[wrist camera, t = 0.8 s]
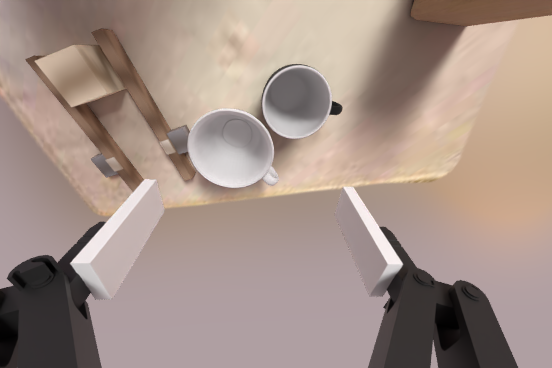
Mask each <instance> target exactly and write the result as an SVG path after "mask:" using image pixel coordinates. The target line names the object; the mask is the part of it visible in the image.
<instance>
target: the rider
mask: <svg viewBox="0 0 552 368" xmlns="http://www.w3.org/2000/svg"><path fill="white" fill-rule="evenodd" d="M35 63H36V64H37V65H38V66H39V68H40V69H41V70H42V71H43V73H44V74H45V75H46V76H47V77H48V79H49V80H50V81H51V82H52V84H53V85H54V86H55V87H56V89H57V90H58V91H59V92H60V94H61V95H62V96H63V97H64V99H65V100H66V101H67V102H68V104H69V105H70V106H71V107H74V106H78V105H81V104H85V103H88V102H92V101H95V100H98V99H100V98H103V97H106V96H108V95H111V94H114V93H116V92H119V91H122V90H124V89H126V87H125V85H124V84H123V82H122V81H121V79H120V77H119V76H118V74H117V73H116V71H115V69H114V68H113V66H112V65H111V63H110V62H109V60H108V58H107V57H106V55H105V54H104V52H103V51H102V49H101V47H100V46H94V45H72V46H69V47H67V48H65V49H62V50H60V51H57V52H55V53H52V54H50V55H48V56H45V57H43V58H40V59H38V60H35Z"/></svg>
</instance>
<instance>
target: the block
mask: <svg viewBox="0 0 552 368" xmlns="http://www.w3.org/2000/svg"><path fill="white" fill-rule="evenodd" d="M548 15H552V0H414V3H413V6H412V9H411V17H413V18H414V19H415V20H421V21H429V22H437V23H445V24H454V25H462V26H472V25H479V24H487V23H495V22H502V21H510V20H518V19H525V18H533V17H541V16H548Z"/></svg>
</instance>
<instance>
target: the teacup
mask: <svg viewBox="0 0 552 368" xmlns="http://www.w3.org/2000/svg"><path fill="white" fill-rule="evenodd" d="M187 146H188V153H189V156H190V159H191V161H192V163H193V165H194V167H195V168H196V170H197V171H198V172H199V173H200V174H201V175H202V176H203V177H204V178H206V179H207V180H209V181H210V182H212V183H214V184H217V185H219V186H223V187H228V188H242V187H246V186H250V185H252V184H254V183H256V182H258V181H259V180H260V179H263V181H264V182H266V183H267V184H268V185H271V186H273V185H275V184H276V183H277V182H278V180H279V177H278V174H277V172H276V171H275V170H274V168H273V167H272V166H271V165H272V162H273V158H274V146H273V142H272V138H271V136H270V134H269V132H268V130H267V129H266V127H265V126H264V125H263V124H262V123H261V122H260V121H259V120H258V119H257V118H255V117H254V116H253V115H251V114H250V113H248V112H246V111H243V110H239V109H227V108H224V109H217V110H213V111H211V112H208V113H206V114H205V115H203V116H202V117H201V118H199V119H198V120H197V121H196V123H195V124H194V125H193V127H192V129H191V131H190V133H189V137H188V143H187Z"/></svg>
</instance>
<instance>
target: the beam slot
mask: <svg viewBox="0 0 552 368" xmlns="http://www.w3.org/2000/svg"><path fill="white" fill-rule="evenodd" d="M91 33H92V35H93V36H94V38H95V39H96V41H97V43H98V44H99V46H100V47H101V49H102V50H103V52H104V54H105V55H106V57H107V58H108V60H109V62H110V63H111V65H112V66H113V68H114V69H115V71H116V73H117V74H118V76H119V77H120V79H121V81H122V82H123V84H124V85H125V87H126V89H127V90H128V92H129V93H130V95H131V96H132V98H133V100H134V101H135V103H136V104H137V106H138V108H139V109H140V111H141V112H142V114H143V115H144V117H145V119H146V120H147V122H148V123H149V125H150V127H151V128H152V130H153V131H154V133H155V134H156V136H157V138H158V139H159V141H160V142H159V143H160V145H161V146H162V148H163V149H164V151H165V153H166V154H167V155H169V157H170V158H171V160H172V161H173V163H174V165H175V166H176V168H177V169H178V171H179V173H180V174H181V176H182V177H183V179H184V180H185V181H186V180H190V179H192V178H193V176H194V174H195V173H196V172H195V171H194V169H193V167H192V165H191V164H190V162H189V160H188V159H187V157H186V155H185V152H188V146H187V143H188V137H189V133H190V131H189V129H188V127H187V125H185V126H182V127H179V128H176V129H173V130H171V129H170V128H169V126H168V124H167V123H166V121H165V119H164V117H163V116H162V114H161V112H160V111H159V109H158V107H157V105H156V104H155V102H154V100H153V99H152V97H151V95H150V93H149V92H148V90H147V88H146V87H145V85H144V83H143V81H142V80H141V78H140V76H139V75H138V73H137V71H136V69H135V68H134V66H133V64H132V63H131V61H130V59H129V57H128V56H127V54H126V52H125V51H124V49H123V47H122V45H121V44H120V42H119V40H118V39H117V37H116V35H115V33H114V32H113V30H108V29H99V30H96V31H94V32H91ZM43 57H45V56H33V57H30V58H28V59H25V60H26V61H27V62H28V64H29V65H30V66H31V67H32V68H33V70H34V71H35V72H36V73H37V75H38V76H39V77H40V78H41V79H42V81H43V82H44V83H45V84H46V86H47V87H48V88H49V89H50V91H51V92H52V93H53V94H54V95H55V97H56V98H57V99H58V100H59V102H60V103H61V104H62V105H63V106H64V108H65V109H66V110H67V111H68V113H69V114H70V115H71V116H72V118H73V119H74V120H75V121H76V122H77V124H78V125H79V126H80V127H81V129H82V130H83V131H84V132H85V134H86V135H87V136H88V137H89V138H90V140H91V141H92V142H93V143H94V145H95V146H96V147H97V148H98V149H99V151H100V152H101V154H98V155H96V156H95V157H93V158H91V160H92V161H93V163H94V164H95V165H96V166H97V167H98V168H99V170H100V171H101V172H102V173H103V174H104V175H105V177H106V178H107V177H110V176H113V175H116V174H119V175H120V176H121V178H122V179H123V180H124V181H125V183H126V184H127V185H128V186H129V188H130V189H131V190H132V191H133V192H134V191H135V190H136V188H137V187H138V186H139V185H140V184H141V183H142V182H143V181H144V180H143V178H142V177H141V176H140V174H139V173H138V172H137V170H136V169H135V168H134V166H133V165H132V164H131V162H130V161H129V160H128V158H127V157H126V156H125V154H124V153H123V152H122V150H121V149H120V148H119V146H118V145H117V144H116V143H115V141H114V140H113V139H112V137H111V136H110V135H109V133H108V132H107V131H106V129H105V128H104V127H103V125H102V124H101V123H100V121H99V120H98V119H97V117H96V116H95V115H94V113H93V112H92V111H91V109H90V108H89V107H88V105H87V104H86V103H85V104H81V105H78V106H74V107H71V106H70V105H69V104H68V102H67V101H66V100H65V99H64V97H63V96H62V95H61V94H60V92H59V91H58V90H57V89H56V87H55V86H54V85H53V84H52V82H51V81H50V80H49V79H48V77H47V76H46V75H45V74H44V73H43V71H42V70H41V69H40V68H39V66H38V65H37V64H36V63H35V60H38V59H40V58H43Z"/></svg>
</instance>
